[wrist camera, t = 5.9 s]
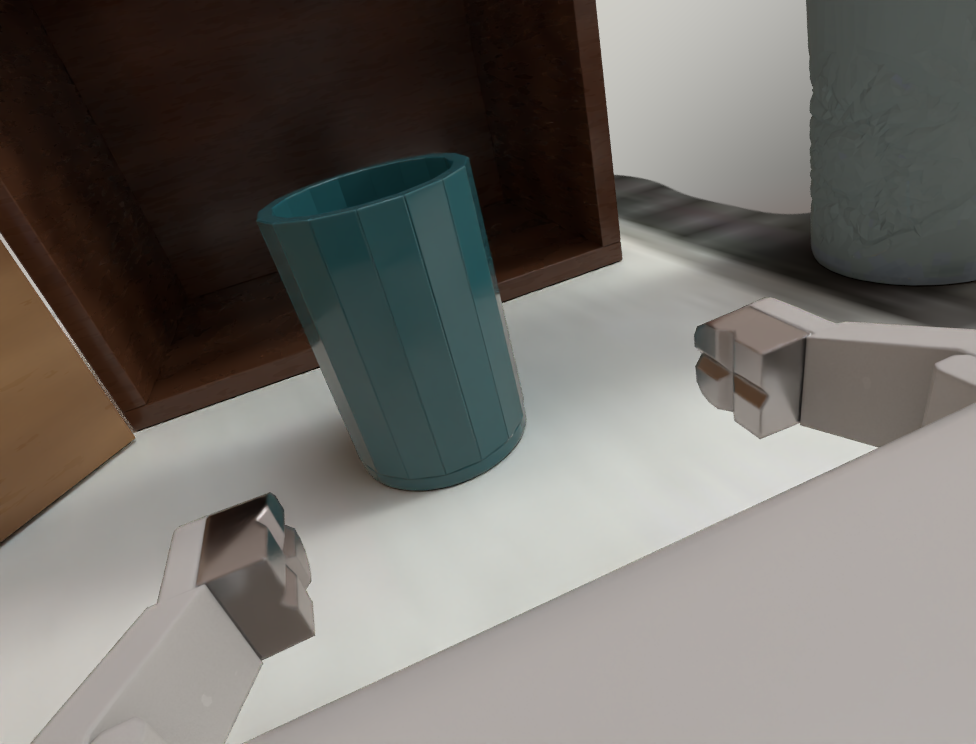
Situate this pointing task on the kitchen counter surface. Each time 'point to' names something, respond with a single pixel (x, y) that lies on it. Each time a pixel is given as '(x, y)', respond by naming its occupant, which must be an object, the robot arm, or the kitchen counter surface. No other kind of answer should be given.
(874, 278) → the grey mug
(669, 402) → the kitchen counter surface
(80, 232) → the cupboard
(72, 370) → the cupboard door
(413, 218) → the cup
